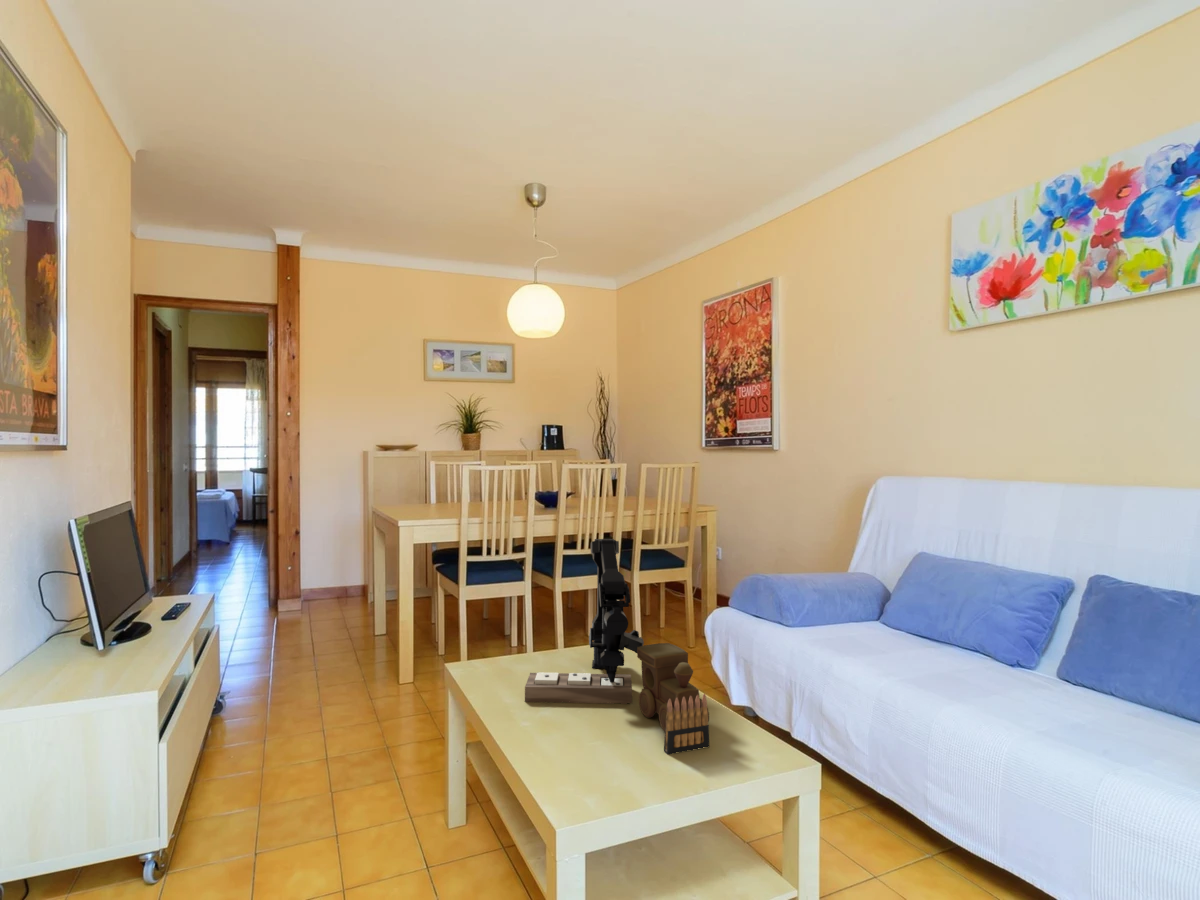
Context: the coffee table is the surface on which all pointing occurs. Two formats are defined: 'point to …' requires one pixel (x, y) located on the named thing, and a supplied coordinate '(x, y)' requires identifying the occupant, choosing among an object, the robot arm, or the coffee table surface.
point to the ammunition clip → (686, 726)
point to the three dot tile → (616, 682)
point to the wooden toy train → (665, 679)
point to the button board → (579, 690)
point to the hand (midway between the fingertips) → (612, 681)
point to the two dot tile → (579, 679)
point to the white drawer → (546, 678)
